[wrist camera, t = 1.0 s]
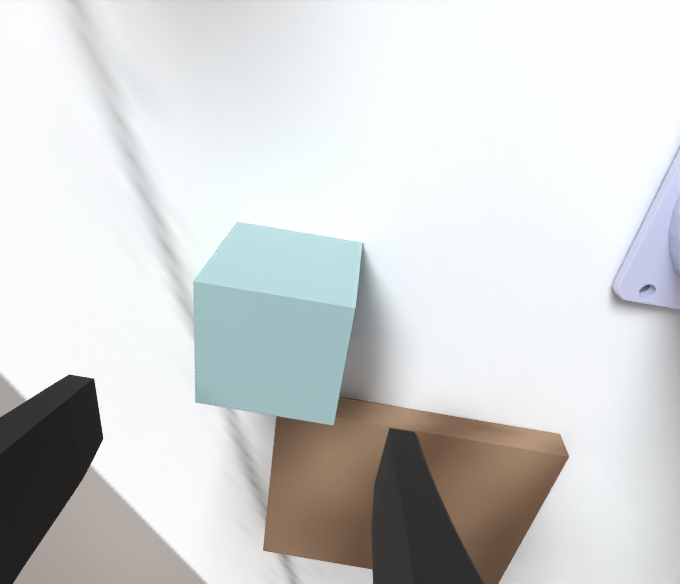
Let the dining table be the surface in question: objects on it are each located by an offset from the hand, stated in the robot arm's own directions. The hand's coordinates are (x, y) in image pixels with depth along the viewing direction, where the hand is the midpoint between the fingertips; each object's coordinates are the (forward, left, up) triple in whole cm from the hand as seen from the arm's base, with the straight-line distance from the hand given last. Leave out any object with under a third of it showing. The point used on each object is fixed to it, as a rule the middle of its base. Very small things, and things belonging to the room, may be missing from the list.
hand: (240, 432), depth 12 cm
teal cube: (0, 0, -7) cm, 7 cm away
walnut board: (-6, +10, -7) cm, 14 cm away
